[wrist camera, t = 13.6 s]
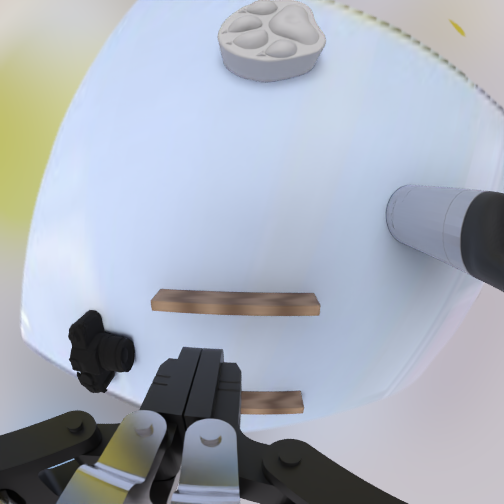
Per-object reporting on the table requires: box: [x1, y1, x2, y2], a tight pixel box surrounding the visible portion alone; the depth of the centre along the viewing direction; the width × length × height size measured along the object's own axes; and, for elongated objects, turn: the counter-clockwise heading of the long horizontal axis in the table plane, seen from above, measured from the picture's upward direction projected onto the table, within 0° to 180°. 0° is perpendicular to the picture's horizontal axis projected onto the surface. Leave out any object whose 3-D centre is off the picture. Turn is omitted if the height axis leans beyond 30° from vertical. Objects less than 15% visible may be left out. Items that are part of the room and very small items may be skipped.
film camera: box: [68, 310, 135, 393], centre depth 39 cm, size 15×10×9 cm, turn 178°
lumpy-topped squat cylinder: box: [218, 0, 326, 82], centre depth 27 cm, size 10×13×9 cm
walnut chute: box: [151, 289, 320, 414], centre depth 40 cm, size 23×21×4 cm
